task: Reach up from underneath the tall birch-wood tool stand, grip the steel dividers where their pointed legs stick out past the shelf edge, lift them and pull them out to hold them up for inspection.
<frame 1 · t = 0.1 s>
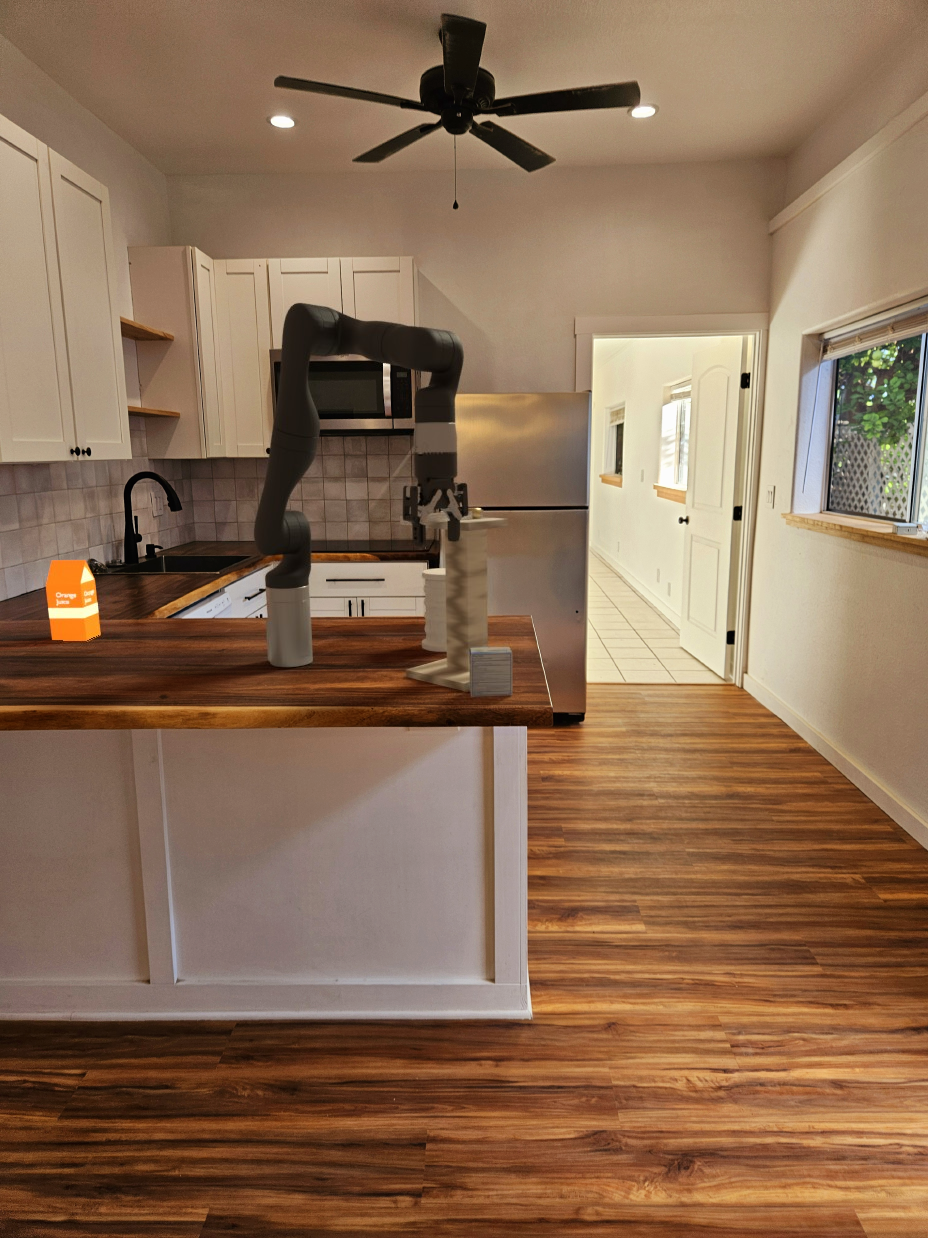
hand: (437, 543, 142), 29 cm above the countertop, tool pointing down, fingers open, 8 cm apart
medicine box: (490, 694, 153), on the countertop
decorative container: (446, 646, 191), on the countertop
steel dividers: (445, 520, 156), point 32 cm above the countertop, touching tool stand
orange juice: (77, 639, 204), on the countertop
tool stand: (457, 676, 165), on the countertop
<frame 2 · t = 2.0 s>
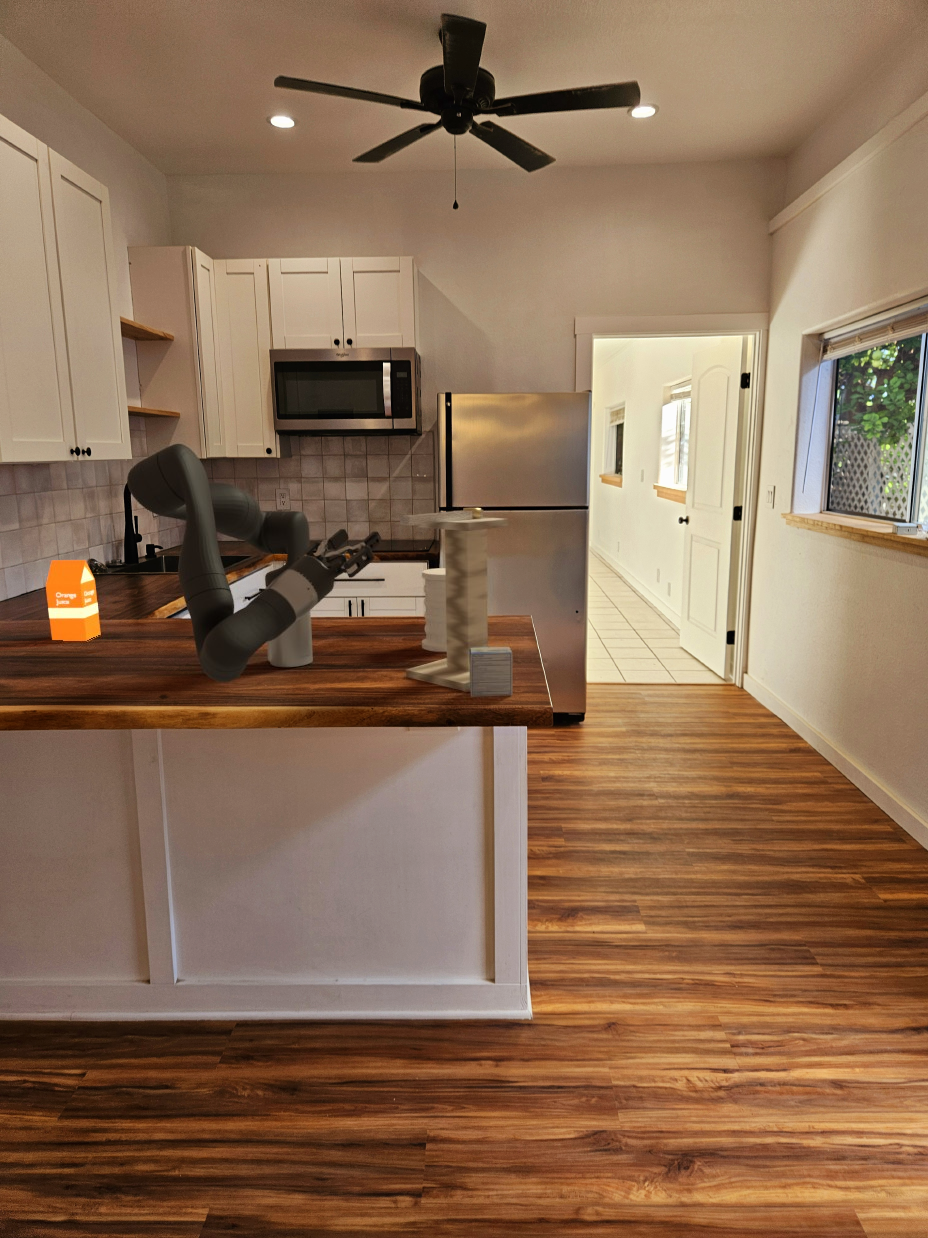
hand: (361, 534, 140), 31 cm above the countertop, tool pointing upward, fingers open, 8 cm apart
nothing on the countertop moved.
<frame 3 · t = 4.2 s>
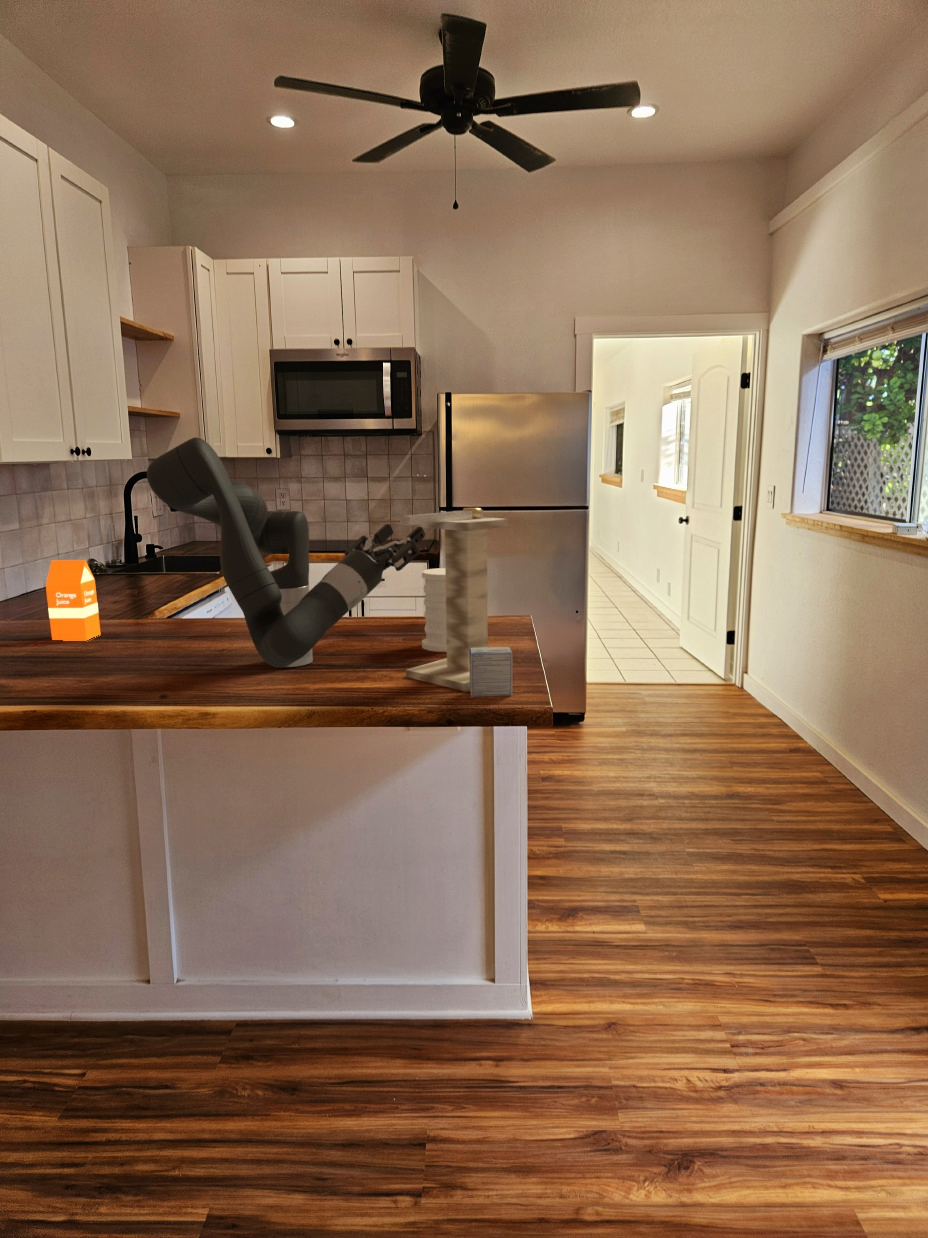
hand: (406, 529, 148), 31 cm above the countertop, tool pointing upward, fingers open, 8 cm apart
nothing on the countertop moved.
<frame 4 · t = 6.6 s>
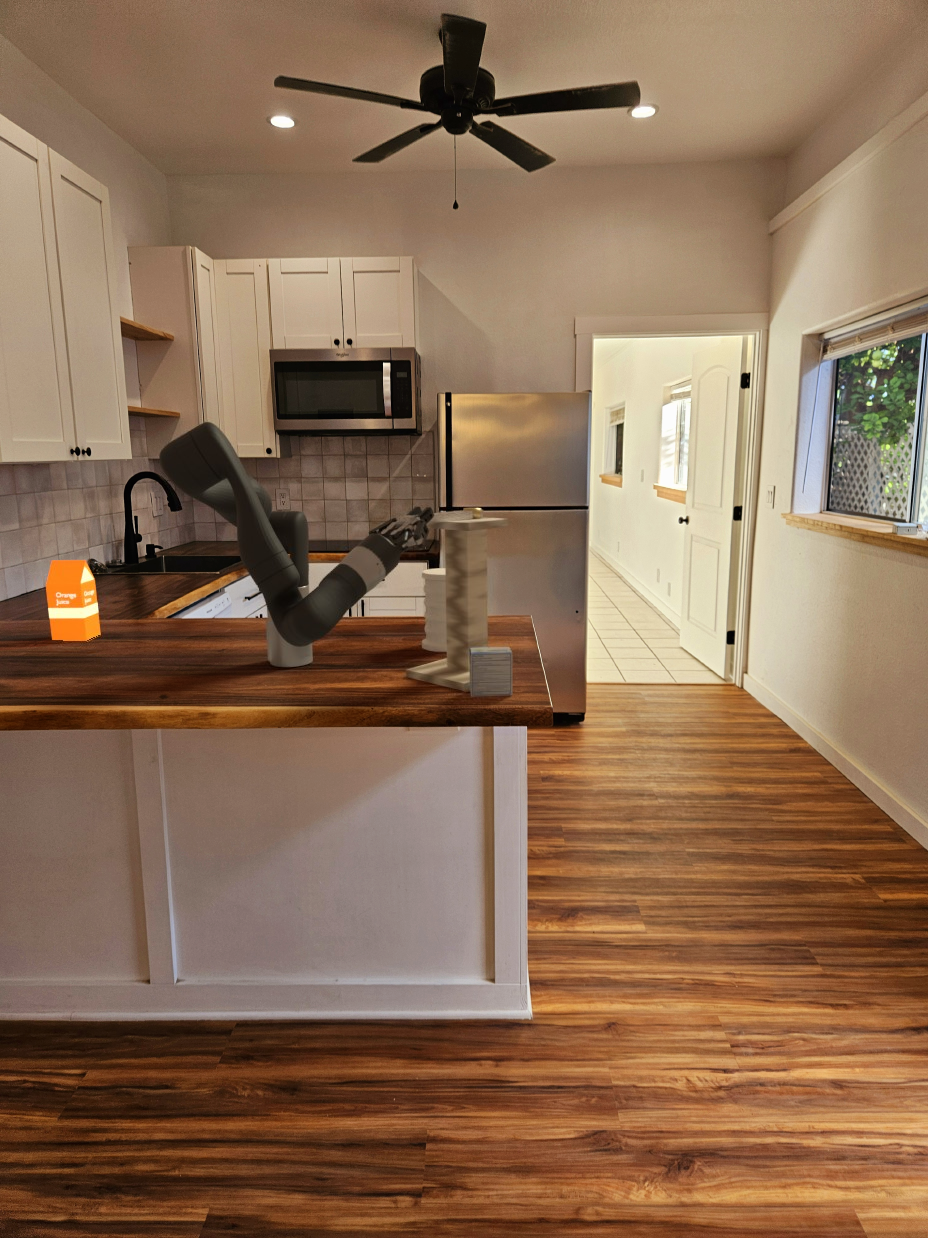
hand: (425, 510, 151), 34 cm above the countertop, tool pointing upward, fingers closed on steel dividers, 2 cm apart
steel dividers: (445, 520, 156), point 32 cm above the countertop, touching gripper, tool stand
everything else where it was.
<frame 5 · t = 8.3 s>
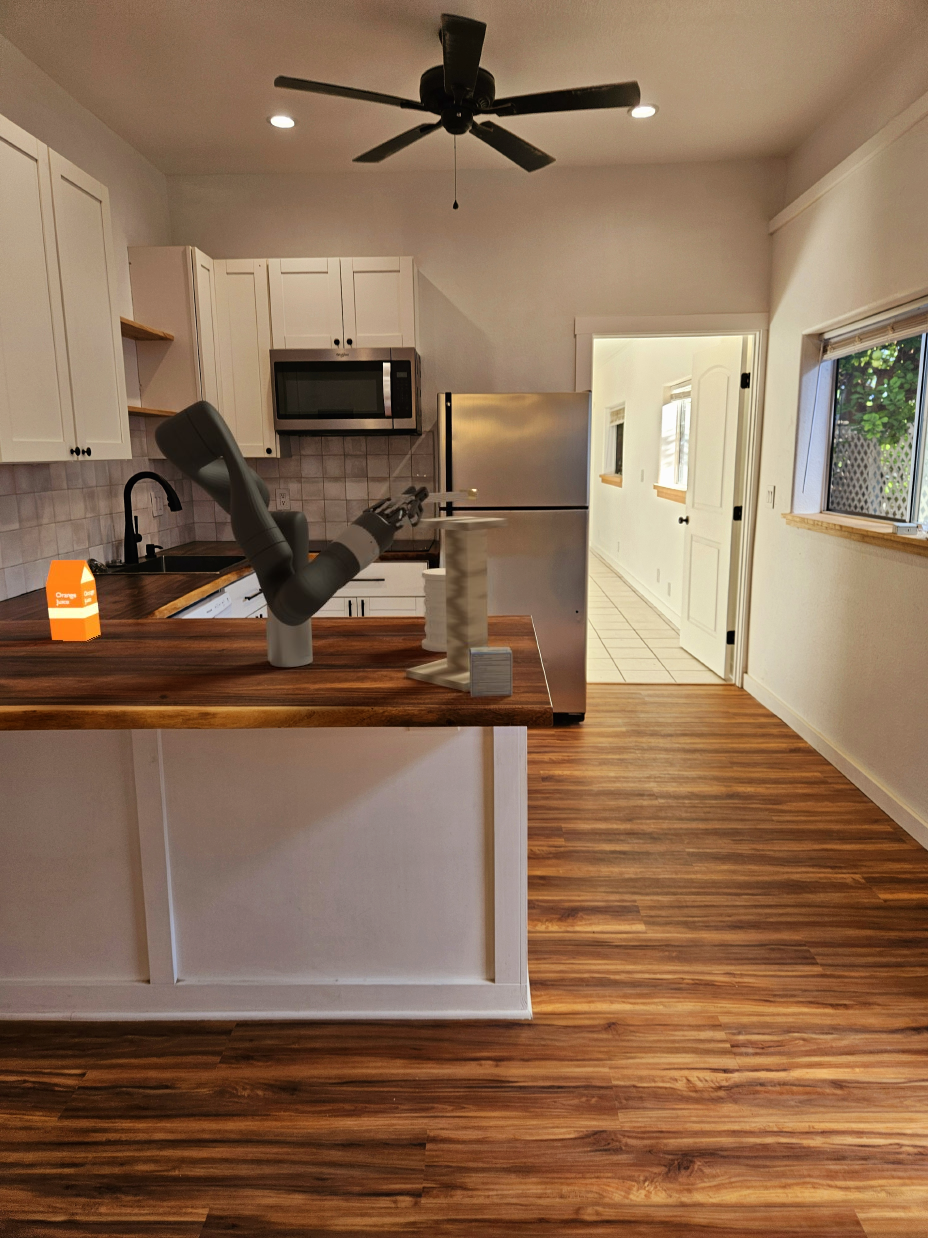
hand: (420, 490, 150), 38 cm above the countertop, tool pointing upward, fingers closed on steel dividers, 2 cm apart
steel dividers: (440, 501, 154), point 36 cm above the countertop, touching gripper
everything else where it was.
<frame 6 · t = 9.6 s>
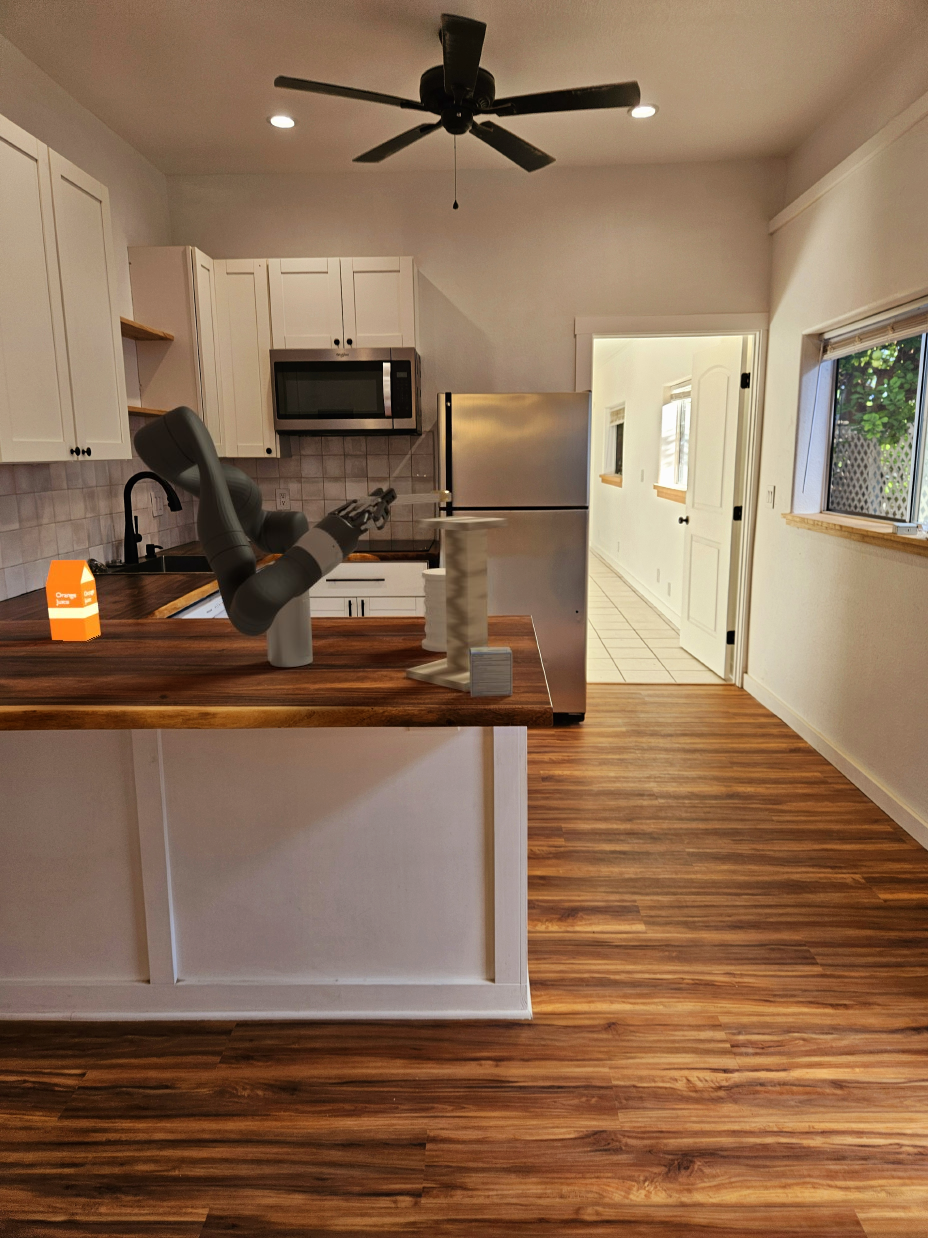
hand: (387, 492, 144), 38 cm above the countertop, tool pointing upward, fingers closed on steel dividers, 2 cm apart
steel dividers: (410, 503, 148), point 36 cm above the countertop, touching gripper
everything else where it was.
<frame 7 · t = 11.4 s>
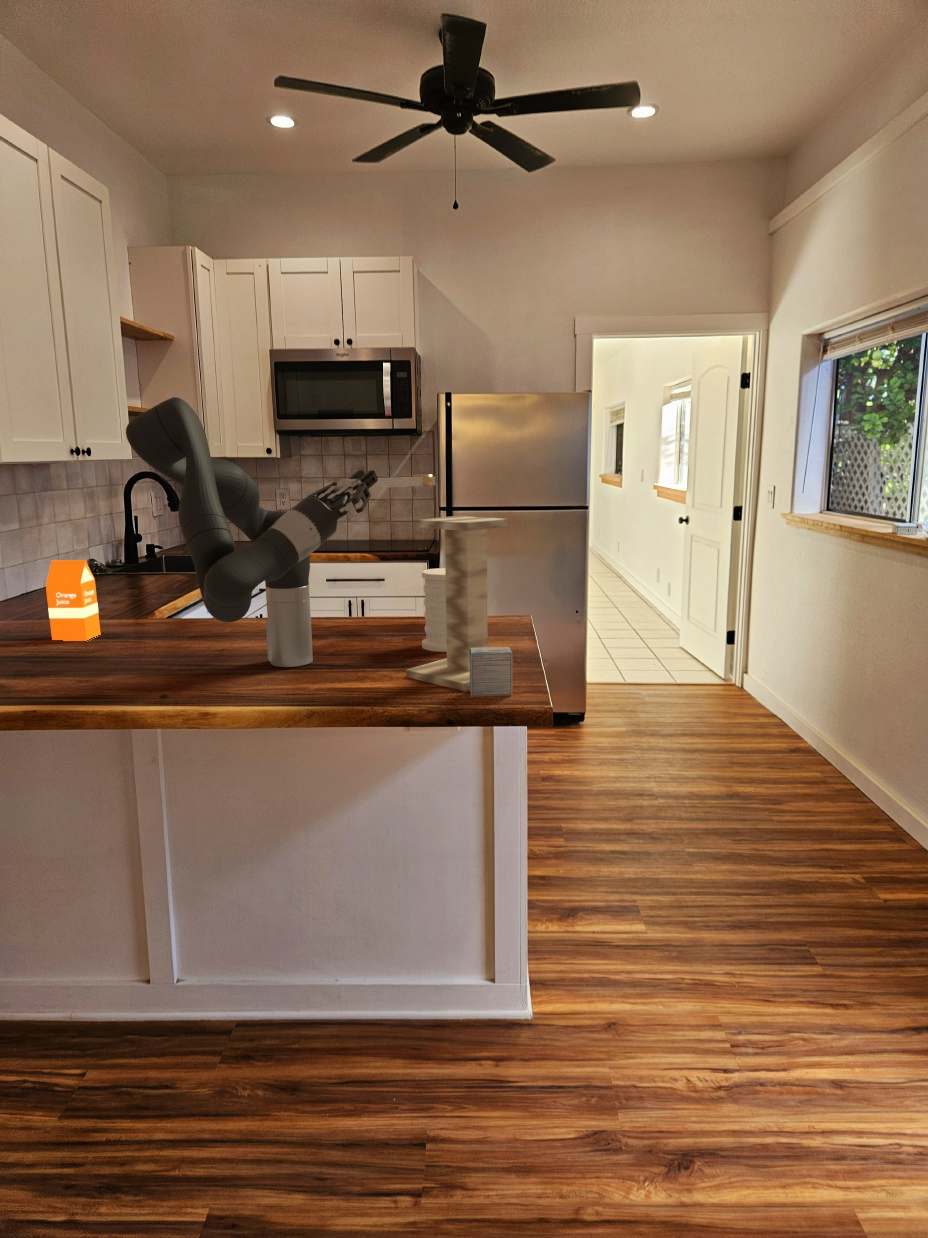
hand: (368, 474, 140), 41 cm above the countertop, tool pointing upward, fingers closed on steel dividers, 2 cm apart
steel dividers: (392, 486, 144), point 39 cm above the countertop, touching gripper
everything else where it was.
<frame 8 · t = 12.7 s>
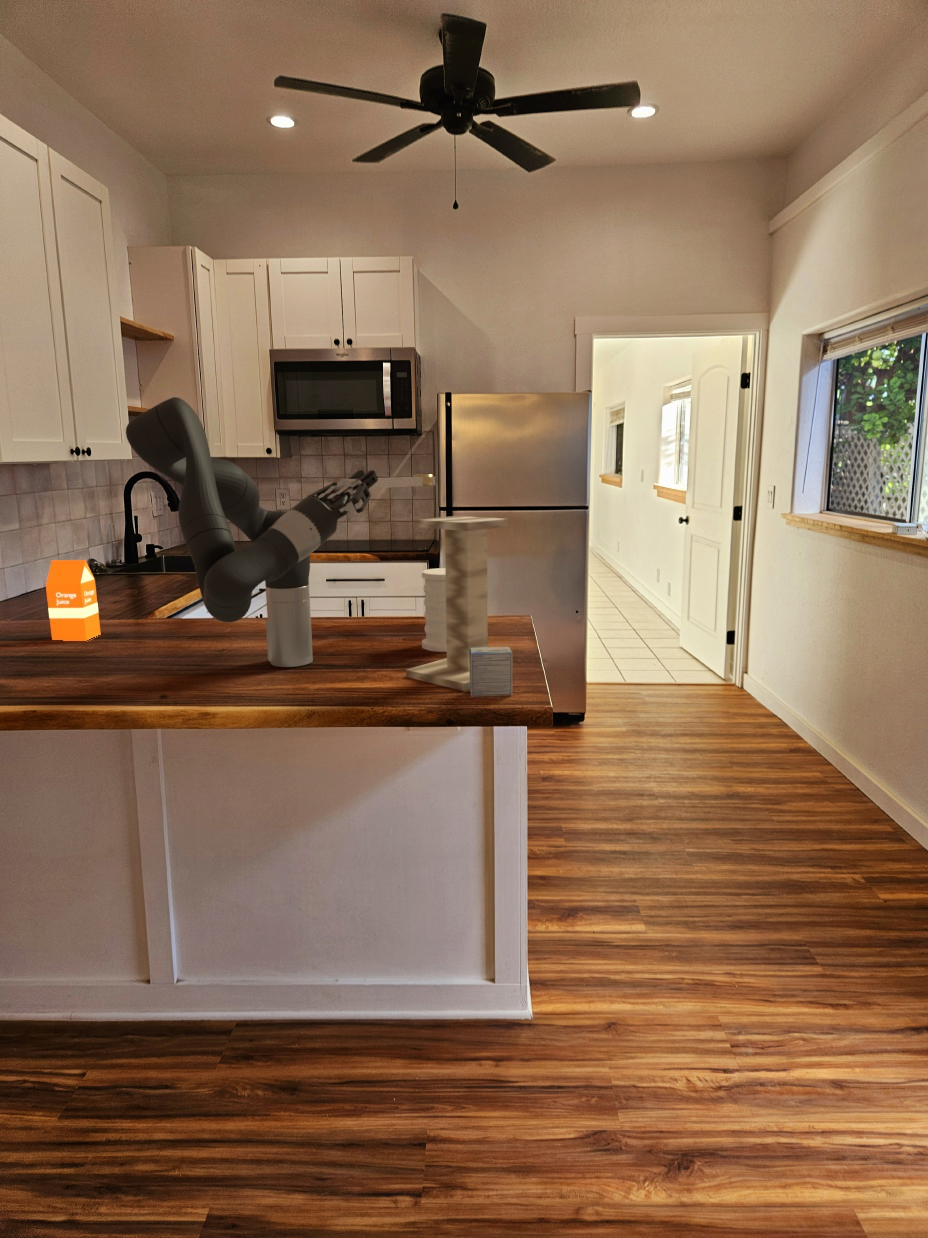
hand: (368, 474, 140), 41 cm above the countertop, tool pointing upward, fingers closed on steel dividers, 2 cm apart
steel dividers: (392, 486, 144), point 39 cm above the countertop, touching gripper
everything else where it was.
at the end: the gripper is holding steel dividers; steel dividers moved 15.6 cm from its start; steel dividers touching gripper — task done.
